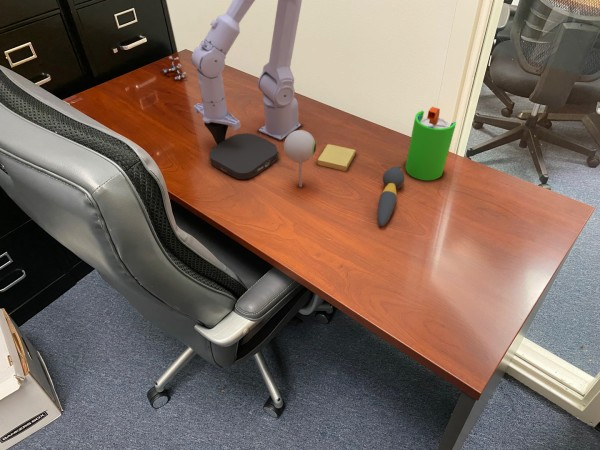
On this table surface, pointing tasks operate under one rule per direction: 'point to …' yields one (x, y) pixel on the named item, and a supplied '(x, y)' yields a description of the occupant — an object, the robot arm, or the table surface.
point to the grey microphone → (389, 193)
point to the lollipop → (300, 148)
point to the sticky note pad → (336, 157)
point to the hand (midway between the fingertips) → (221, 144)
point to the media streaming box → (243, 155)
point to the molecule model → (175, 69)
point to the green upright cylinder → (429, 145)
